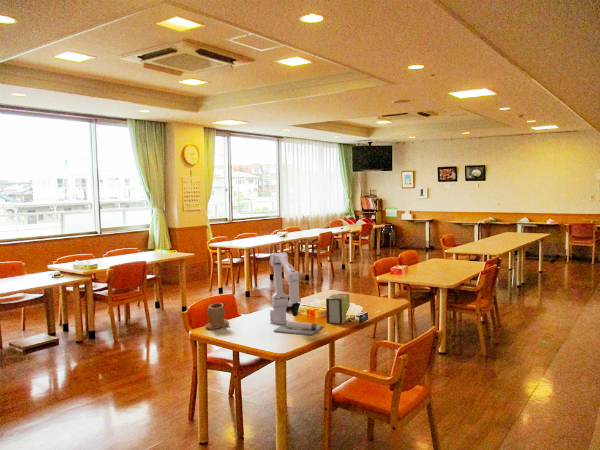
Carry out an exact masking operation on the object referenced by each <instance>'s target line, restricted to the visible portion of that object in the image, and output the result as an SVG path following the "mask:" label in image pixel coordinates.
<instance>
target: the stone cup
mask: <svg viewBox="0 0 600 450" xmlns="http://www.w3.org/2000/svg"><path fill="white" fill-rule="evenodd" d="M225 311H226V307H225V305H224V303H223V302H214V303H211V304H209V305H208V307H207V316H208V319H209V322H208V323H206V324H205V325H204V327H205V328H206V329H210V330H214V329H215V330H216V329H219V328H223V327H226V326H229V325H230V322H229V321H228V319H227V318H225V313H226V312H225Z"/></svg>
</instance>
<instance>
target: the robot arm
mask: <svg viewBox="0 0 600 450" xmlns="http://www.w3.org/2000/svg"><path fill="white" fill-rule="evenodd" d="M269 259H270V260H269V261H270V263H269V264H270V266H271V267H272V269H273V278H274V291H275V292H274V293H273V294H272V295H271V301H270V305H271V307H272V308H270V312H269V313H270V314H269V317H270V318H269V319H270V320H269V323H270V324H276V325H283V324H285V323H286V322H288V321H289V319H287V311H286V308H287V307H288V306H289V307H290V308H291V311H290V312H291V314H292V317H298V313H299V309H300V306H301V302H302V297H300V281H301V273H300V270H299V271H298V270H296V269H295V268H294V266H293V265H292V264H290V263H289V256H288V252H286V251H284V252H274V253H273V252H272V253H271V254H270V256H269ZM282 268H283V272H284V273H285V275H286V279H287V284H288V293H289V294H286V293H285V292H284V288H283V287H284V285H283V284H284V283H283V273H282ZM287 295H289V302H288V298H287ZM280 297H283V298H280ZM289 322H290V321H289Z"/></svg>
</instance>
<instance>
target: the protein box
mask: <svg viewBox="0 0 600 450" xmlns="http://www.w3.org/2000/svg"><path fill="white" fill-rule="evenodd" d="M325 303H326V309H325V311H326V323H327V324H337V325H344V324H345V323H346V322H347V321H346V313H347V311H348V309H349V307H350V305H351V304H350V293H338V292H337V293H336V292H335V293H332V294H331V295H329V296H328V297H327V298H325ZM345 321H346V322H345Z"/></svg>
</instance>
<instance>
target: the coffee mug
mask: <svg viewBox="0 0 600 450" xmlns="http://www.w3.org/2000/svg"><path fill="white" fill-rule="evenodd" d="M286 295H287V298H288V302H289V294H286ZM279 298H283V297H279ZM286 312H292V311H291V308H290V307H289V306H288V307H287V308H286Z"/></svg>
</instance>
